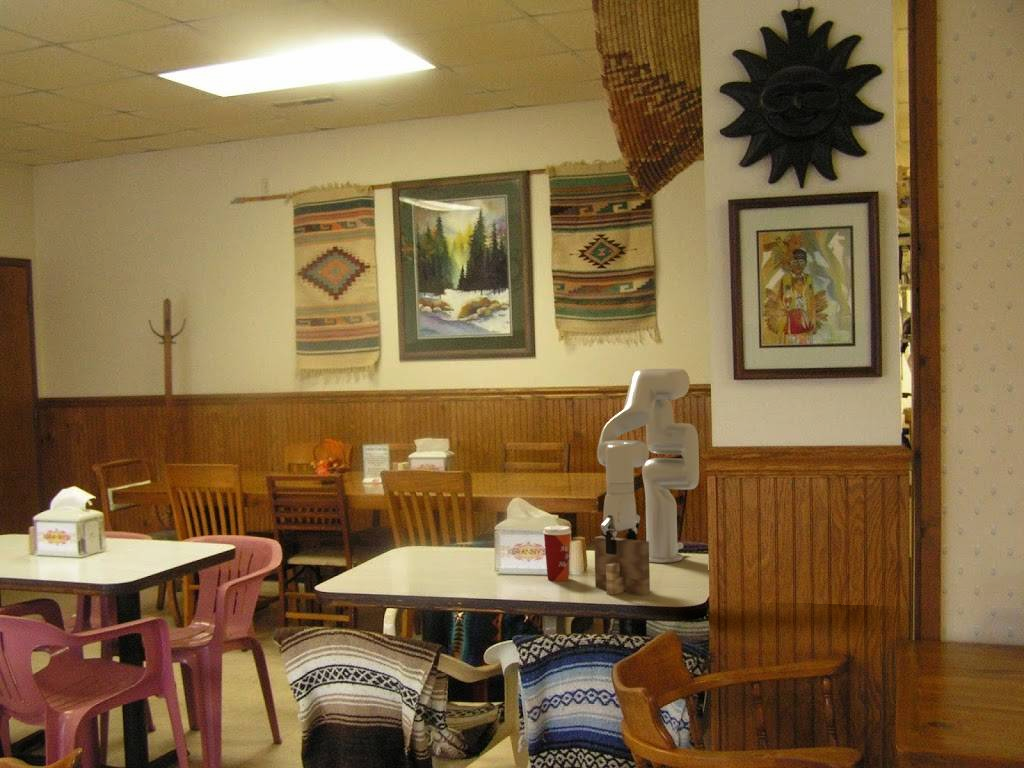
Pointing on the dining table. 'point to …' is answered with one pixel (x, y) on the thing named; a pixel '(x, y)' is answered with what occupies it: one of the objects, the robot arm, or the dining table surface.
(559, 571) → the coffee cup
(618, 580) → the brown u-shaped block
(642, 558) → the walnut block
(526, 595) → the dining table surface
